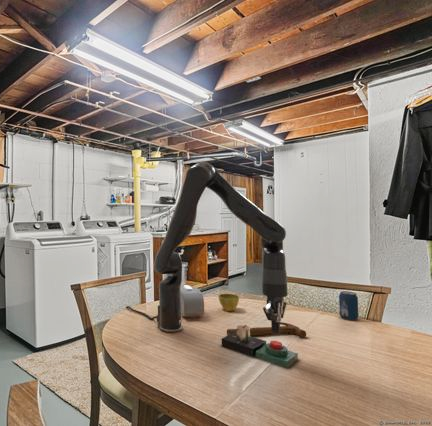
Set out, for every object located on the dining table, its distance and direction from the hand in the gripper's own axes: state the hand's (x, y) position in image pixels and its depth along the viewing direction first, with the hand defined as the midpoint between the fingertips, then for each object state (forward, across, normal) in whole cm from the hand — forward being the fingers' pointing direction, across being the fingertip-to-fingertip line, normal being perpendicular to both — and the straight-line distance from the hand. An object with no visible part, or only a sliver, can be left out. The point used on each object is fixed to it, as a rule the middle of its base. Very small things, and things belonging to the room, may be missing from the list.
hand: (275, 332), depth 103 cm
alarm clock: (+9, +18, +49) cm, 53 cm away
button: (+5, 0, 0) cm, 5 cm away
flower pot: (+9, +38, +39) cm, 56 cm away
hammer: (+9, +18, +13) cm, 24 cm away
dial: (+6, 0, +12) cm, 13 cm away
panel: (+9, 0, +12) cm, 15 cm away
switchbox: (+9, 0, 0) cm, 9 cm away
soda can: (+9, +66, -4) cm, 67 cm away
